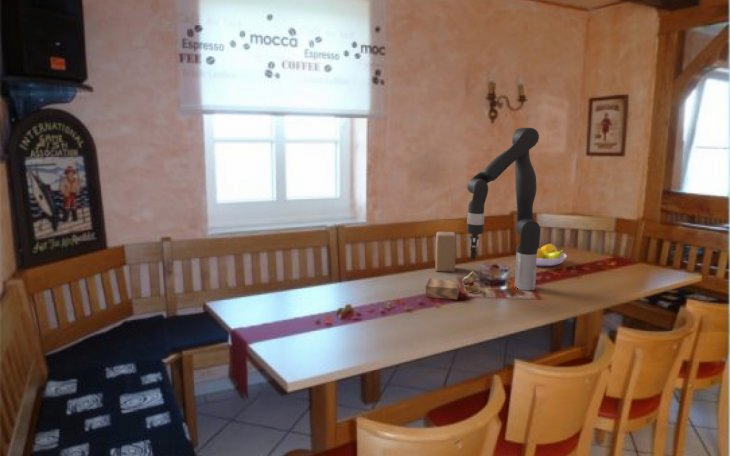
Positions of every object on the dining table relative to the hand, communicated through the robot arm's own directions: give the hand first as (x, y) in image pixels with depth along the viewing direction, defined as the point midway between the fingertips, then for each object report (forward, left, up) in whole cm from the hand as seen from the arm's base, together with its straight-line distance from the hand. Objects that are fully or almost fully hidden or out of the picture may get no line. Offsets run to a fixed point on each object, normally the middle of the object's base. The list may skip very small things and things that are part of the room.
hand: (473, 257), depth 242 cm
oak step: (+13, +8, -16) cm, 22 cm away
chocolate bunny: (0, 0, -17) cm, 17 cm away
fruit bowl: (-36, -63, -17) cm, 74 cm away
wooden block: (+16, -36, -17) cm, 43 cm away
